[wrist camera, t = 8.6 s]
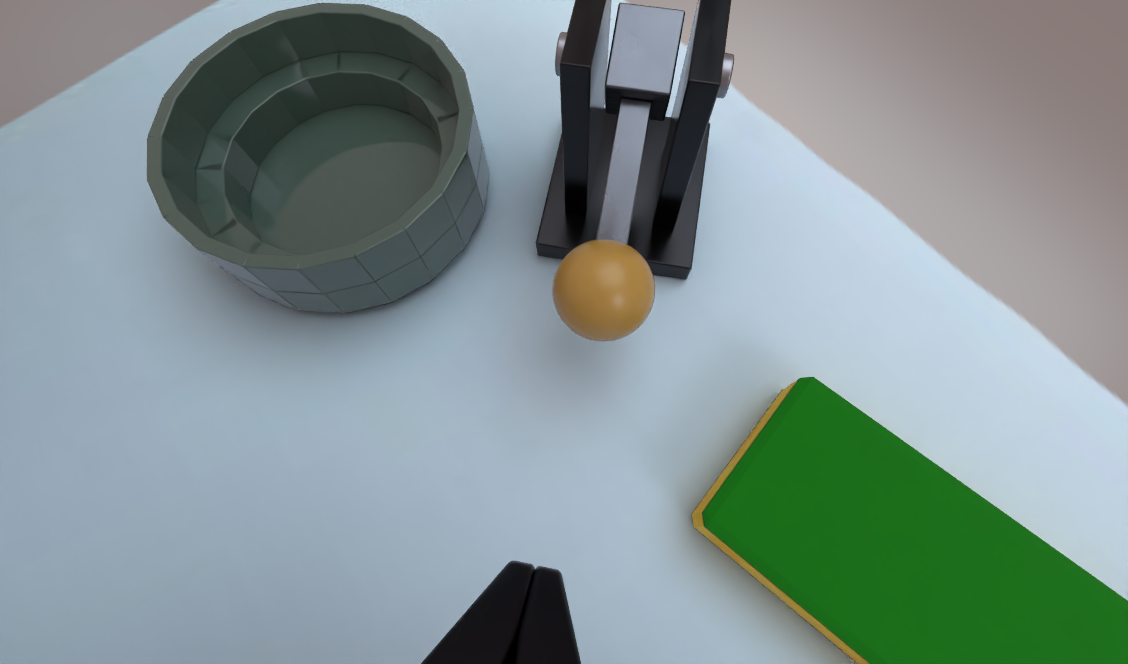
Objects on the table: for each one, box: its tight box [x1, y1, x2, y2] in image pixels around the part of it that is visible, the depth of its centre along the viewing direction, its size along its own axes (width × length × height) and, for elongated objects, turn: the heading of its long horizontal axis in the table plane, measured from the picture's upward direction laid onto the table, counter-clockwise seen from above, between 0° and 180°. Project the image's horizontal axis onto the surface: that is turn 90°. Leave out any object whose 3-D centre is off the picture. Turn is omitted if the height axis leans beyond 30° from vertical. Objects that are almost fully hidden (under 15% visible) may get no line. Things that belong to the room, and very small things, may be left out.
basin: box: [147, 3, 489, 313], centre depth 25 cm, size 13×13×5 cm
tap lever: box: [553, 3, 685, 341], centre depth 20 cm, size 11×4×4 cm, turn 169°
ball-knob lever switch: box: [536, 0, 734, 279], centre depth 22 cm, size 8×7×10 cm
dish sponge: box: [692, 377, 1128, 664], centre depth 20 cm, size 7×14×2 cm, turn 50°
